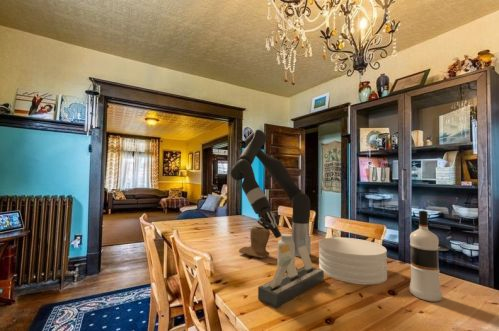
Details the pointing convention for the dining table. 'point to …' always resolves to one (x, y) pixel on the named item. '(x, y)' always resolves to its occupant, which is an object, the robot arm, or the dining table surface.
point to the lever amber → (291, 267)
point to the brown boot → (257, 242)
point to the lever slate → (304, 255)
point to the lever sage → (280, 271)
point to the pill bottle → (285, 240)
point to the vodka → (424, 262)
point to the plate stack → (353, 260)
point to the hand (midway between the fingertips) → (278, 237)
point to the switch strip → (290, 287)
